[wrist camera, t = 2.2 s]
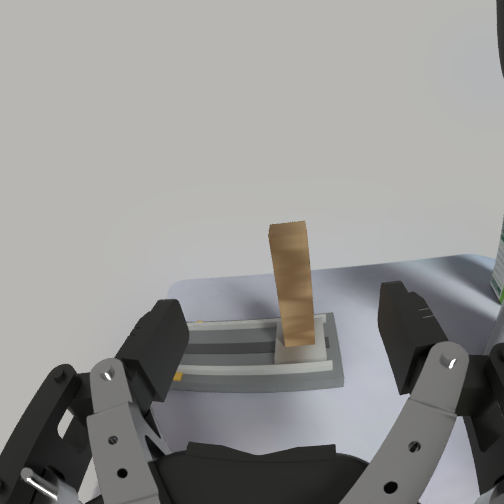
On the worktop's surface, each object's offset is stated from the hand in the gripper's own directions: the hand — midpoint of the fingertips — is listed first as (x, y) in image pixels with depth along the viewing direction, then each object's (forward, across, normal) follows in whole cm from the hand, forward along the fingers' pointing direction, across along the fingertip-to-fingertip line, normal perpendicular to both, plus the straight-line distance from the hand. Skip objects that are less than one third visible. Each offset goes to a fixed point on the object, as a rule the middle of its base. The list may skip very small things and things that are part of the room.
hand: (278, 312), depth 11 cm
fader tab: (+13, 0, +14) cm, 19 cm away
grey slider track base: (+13, +6, +16) cm, 22 cm away
